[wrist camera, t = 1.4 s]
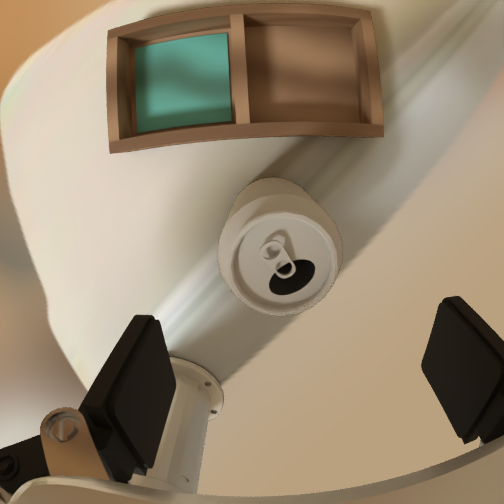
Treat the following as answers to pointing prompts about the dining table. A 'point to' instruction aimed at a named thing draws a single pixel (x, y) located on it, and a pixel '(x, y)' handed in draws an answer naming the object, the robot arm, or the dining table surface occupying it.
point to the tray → (243, 75)
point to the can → (279, 248)
